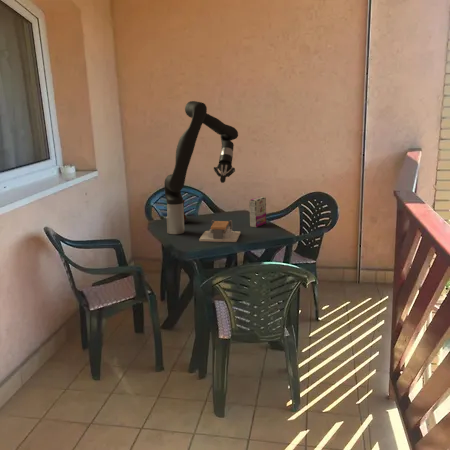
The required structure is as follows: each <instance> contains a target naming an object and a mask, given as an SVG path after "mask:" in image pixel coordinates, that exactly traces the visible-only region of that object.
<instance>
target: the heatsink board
mask: <svg viewBox="0 0 450 450" xmlns="http://www.w3.org/2000/svg"><path fill="white" fill-rule="evenodd" d="M214 222H215V219H212V220H211V225H212V224H213V223H214ZM240 235H241V231H234V230H233V220H231V219H230V220H229V224H228V226H227V228H226V229H225V230H223V229H211V228H210V229H209V230H205V231H204V232H203V233H202V235H200V238H198V239H199V242H215V243H216V242H217V243H218V242H221V243H223V242H225V243H237V241H238V240H239V238H240Z"/></svg>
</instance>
